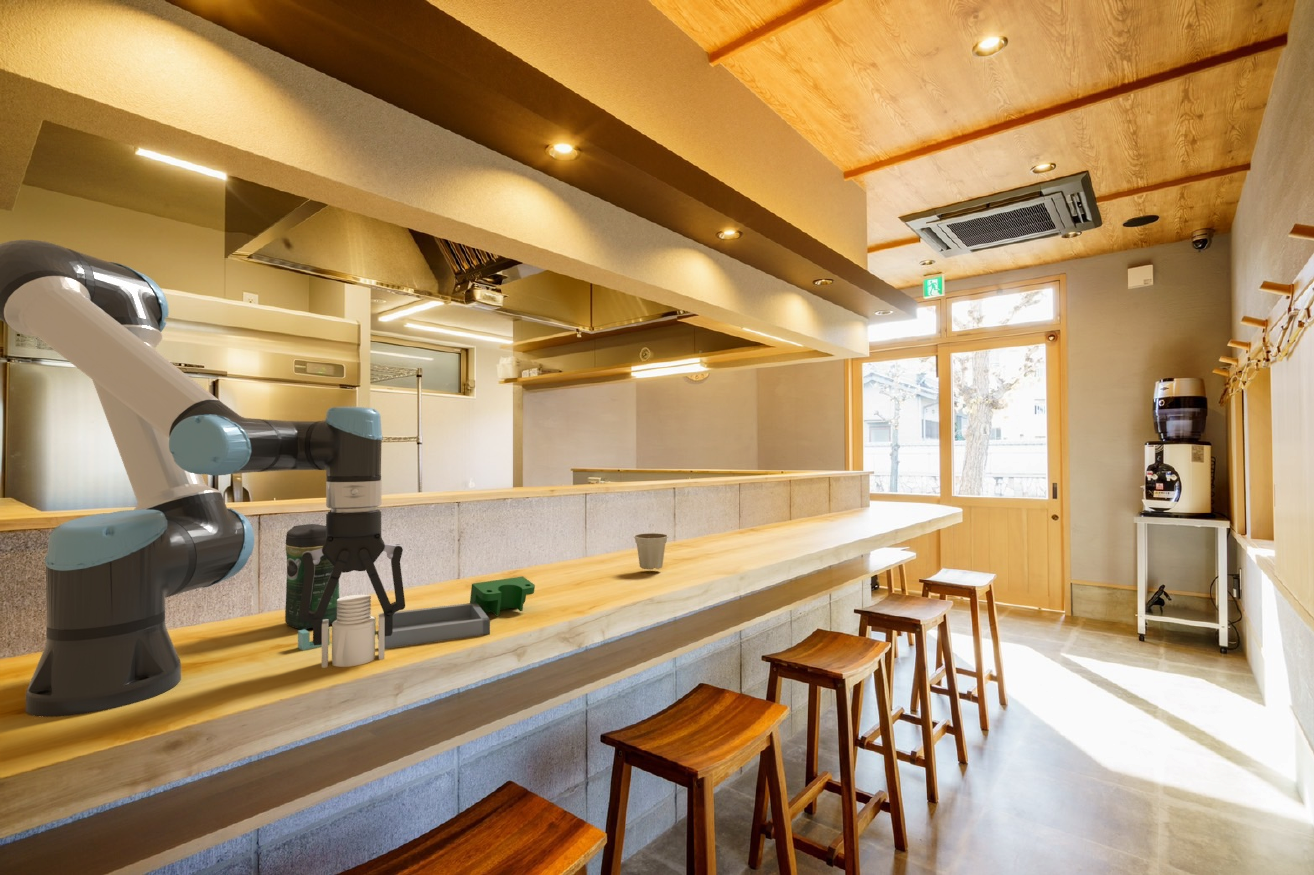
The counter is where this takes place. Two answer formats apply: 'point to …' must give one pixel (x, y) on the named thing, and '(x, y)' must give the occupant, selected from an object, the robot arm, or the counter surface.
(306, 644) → the clips
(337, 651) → the white stepped cylinder
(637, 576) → the counter surface
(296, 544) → the coffee jar
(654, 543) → the flower pot
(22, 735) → the counter surface
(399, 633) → the end holder
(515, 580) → the clamp
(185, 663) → the counter surface
